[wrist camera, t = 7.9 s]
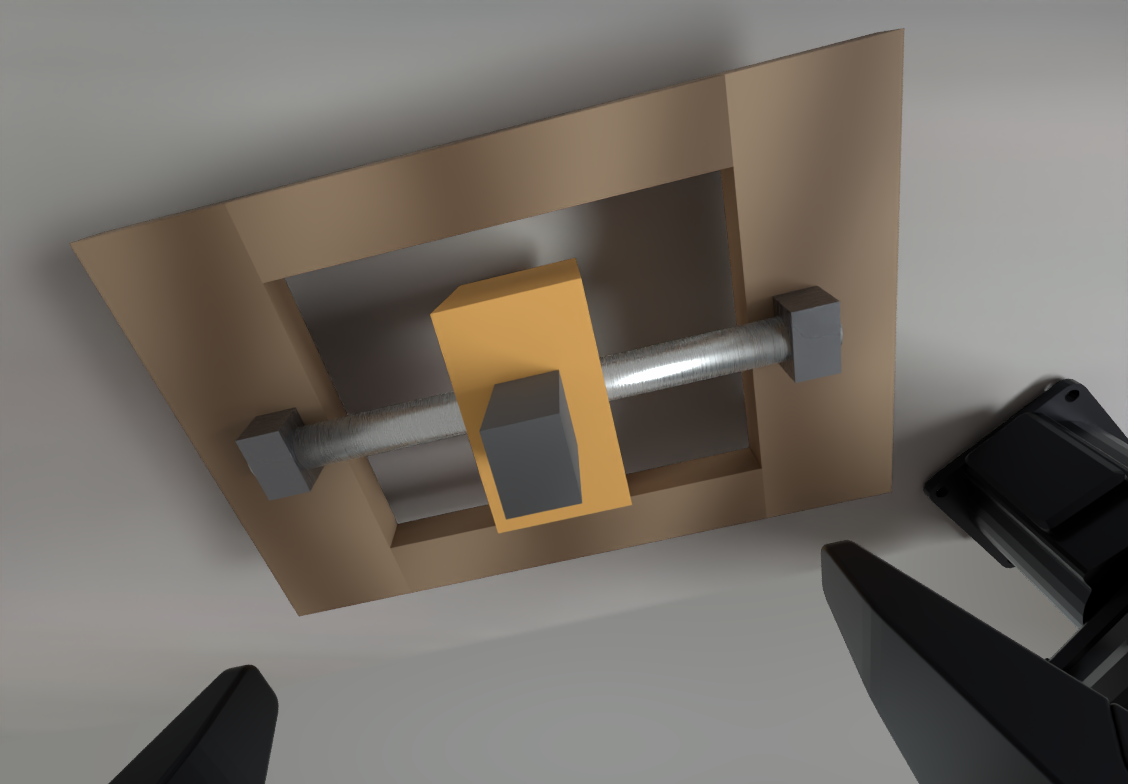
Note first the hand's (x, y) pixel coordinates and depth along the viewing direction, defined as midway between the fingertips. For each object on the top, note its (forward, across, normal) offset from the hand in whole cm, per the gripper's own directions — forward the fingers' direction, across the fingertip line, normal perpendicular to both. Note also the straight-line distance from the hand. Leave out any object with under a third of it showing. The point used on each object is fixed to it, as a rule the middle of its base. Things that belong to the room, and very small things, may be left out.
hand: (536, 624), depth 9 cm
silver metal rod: (+9, 0, 0) cm, 9 cm away
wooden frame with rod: (+12, 0, 0) cm, 12 cm away
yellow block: (+11, 0, 0) cm, 11 cm away
